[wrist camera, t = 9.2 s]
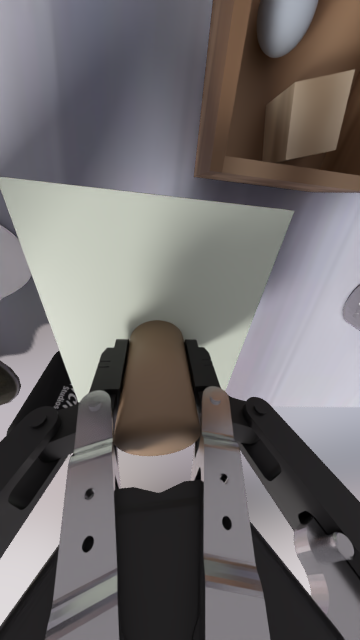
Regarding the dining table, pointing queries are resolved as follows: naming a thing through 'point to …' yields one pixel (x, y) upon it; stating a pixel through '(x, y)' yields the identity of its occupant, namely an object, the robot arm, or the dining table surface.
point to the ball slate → (283, 24)
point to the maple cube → (306, 118)
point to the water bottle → (12, 264)
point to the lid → (145, 291)
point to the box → (266, 84)
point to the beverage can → (49, 391)
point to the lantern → (8, 384)
